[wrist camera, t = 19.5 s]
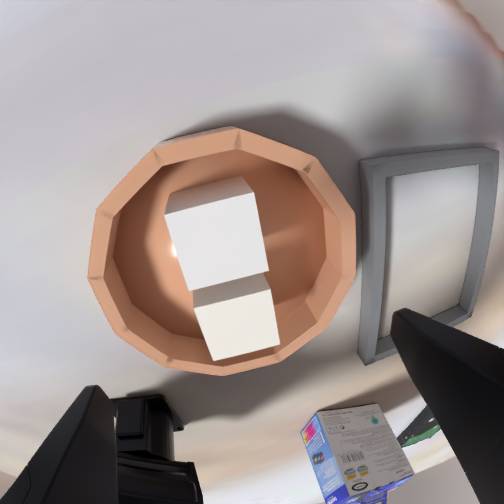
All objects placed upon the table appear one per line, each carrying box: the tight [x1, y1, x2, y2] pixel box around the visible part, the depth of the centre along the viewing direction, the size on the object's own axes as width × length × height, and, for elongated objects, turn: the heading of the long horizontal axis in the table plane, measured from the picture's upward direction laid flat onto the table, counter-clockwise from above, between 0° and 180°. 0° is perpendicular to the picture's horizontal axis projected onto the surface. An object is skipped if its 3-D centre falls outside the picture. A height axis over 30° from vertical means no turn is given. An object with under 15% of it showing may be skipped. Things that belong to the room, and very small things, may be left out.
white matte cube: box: [193, 272, 280, 361], centre depth 20 cm, size 4×4×4 cm
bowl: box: [87, 126, 356, 376], centre depth 19 cm, size 16×16×4 cm
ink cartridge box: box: [301, 404, 414, 504], centre depth 28 cm, size 10×6×14 cm, turn 76°
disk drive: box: [397, 406, 441, 448], centre depth 41 cm, size 10×3×15 cm
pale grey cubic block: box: [164, 176, 269, 291], centre depth 17 cm, size 4×4×4 cm
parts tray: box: [357, 147, 499, 366], centre depth 24 cm, size 19×15×2 cm
